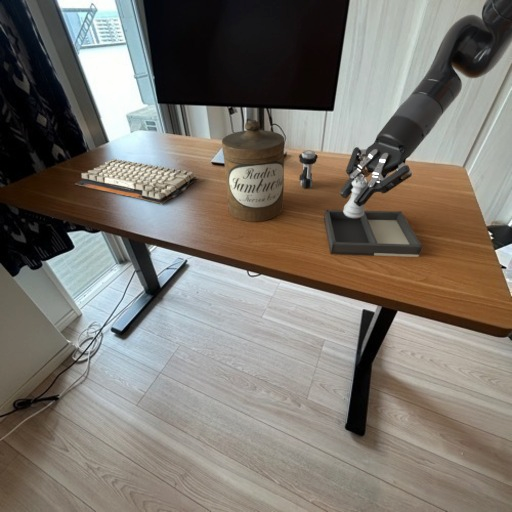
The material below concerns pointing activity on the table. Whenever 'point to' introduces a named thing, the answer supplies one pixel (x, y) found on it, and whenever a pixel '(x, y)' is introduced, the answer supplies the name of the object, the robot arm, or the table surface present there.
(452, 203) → the table surface
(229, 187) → the wooden container
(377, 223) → the sorting tray
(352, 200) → the rook chess piece
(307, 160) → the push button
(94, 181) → the mechanical keyboard
